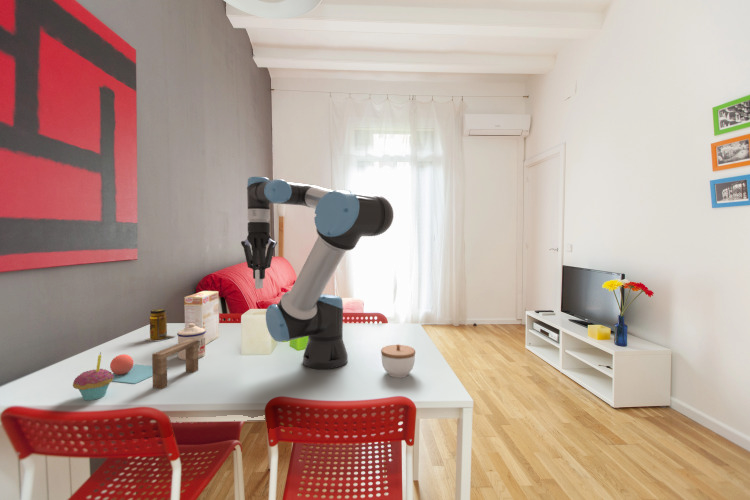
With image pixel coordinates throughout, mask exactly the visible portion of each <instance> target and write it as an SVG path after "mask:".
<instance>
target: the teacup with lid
mask: <svg viewBox="0 0 750 500" xmlns="http://www.w3.org/2000/svg"><path fill="white" fill-rule="evenodd" d="M205 332H206V331H205V329H204V328H199V327H198V326H195V324H194V323H191V324H189V325H188V327H186V328H185V327H184V328H183V329H180V330H178V332H177V334H176V335H177V344H179V343H182V342H184V341H187V340H190V339H191V340H198V359H200V358H203V357H204V356H206V345H205ZM177 357H178V359H179V360H182V361H186V350H185V349H184V350H182V351H179V352H177Z"/></svg>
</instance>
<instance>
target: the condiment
mask: <svg viewBox="0 0 750 500" xmlns="http://www.w3.org/2000/svg"><path fill="white" fill-rule="evenodd" d="M167 318H168V317H167V313H166V309H165V308H155V309H152V310H150V317H149V338H146V340H147V341H151V342H160V341H163V340H168V339H171V338H174V337H176V336H175V335H169V334H167V332H168V325H167V322H168V321H167V320H168V319H167Z"/></svg>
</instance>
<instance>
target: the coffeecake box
mask: <svg viewBox="0 0 750 500" xmlns="http://www.w3.org/2000/svg"><path fill="white" fill-rule="evenodd" d="M219 292H220V291H217V290H202V291H199V292H197V293H194V294H191V295H187V296H184V297H183V298H184V299H183V301H184V303H183V304H184V328H186V327H188V325H189V324H191V323H194V324H195V326H198V327H199V328H204V329H205V331H206V332H205V346H206V345H208V344H209V343H211V342H212V341H214V340H216V339H218V338H219V337H220V310H219V309H220V306H219V305H220V303H219V302H220V300H219V299H220V296H219V295H220V294H219Z"/></svg>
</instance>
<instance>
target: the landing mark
mask: <svg viewBox="0 0 750 500" xmlns="http://www.w3.org/2000/svg"><path fill="white" fill-rule="evenodd" d="M169 369H170V367H167V370H169ZM112 374H113V376H114V377H113V379H112V382H115V383H124V384H131V385H136V384H138V383H140V382H143V381H145V380H147V379H150V378H151V377H152V378H153V371H152V365H145V364H133V367H132V369H131V370H130V371H129V372H128V373H126V374H122V375H117V374H115V373H113V372H112Z"/></svg>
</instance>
